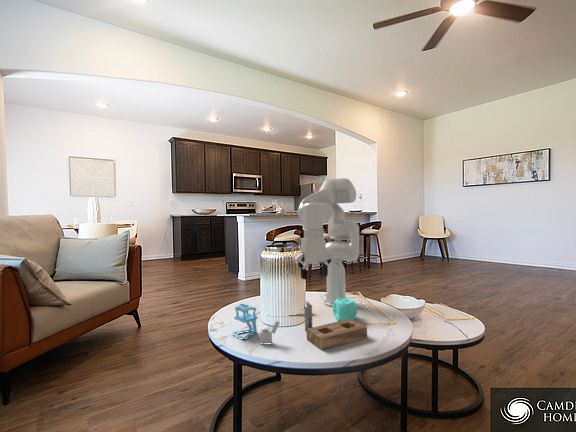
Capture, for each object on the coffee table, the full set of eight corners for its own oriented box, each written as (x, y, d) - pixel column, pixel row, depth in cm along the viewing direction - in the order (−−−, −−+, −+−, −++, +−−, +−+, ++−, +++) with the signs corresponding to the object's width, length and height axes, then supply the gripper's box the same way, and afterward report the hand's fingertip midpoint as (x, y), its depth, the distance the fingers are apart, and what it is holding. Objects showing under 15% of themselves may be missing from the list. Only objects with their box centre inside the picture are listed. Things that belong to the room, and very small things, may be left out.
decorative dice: (339, 323, 126) (339, 304, 126) (332, 317, 134) (332, 299, 134) (357, 321, 128) (356, 302, 128) (349, 315, 136) (348, 297, 135)
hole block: (306, 339, 111) (306, 328, 111) (350, 328, 119) (349, 318, 119) (321, 350, 102) (321, 338, 102) (367, 337, 111) (366, 327, 111)
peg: (303, 329, 120) (302, 305, 120) (310, 328, 121) (309, 303, 121) (307, 332, 117) (306, 307, 117) (314, 330, 118) (313, 305, 118)
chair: (260, 334, 117) (260, 303, 117) (243, 340, 111) (242, 308, 111) (249, 329, 122) (248, 299, 122) (231, 335, 117) (231, 304, 117)
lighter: (260, 344, 108) (259, 322, 108) (260, 342, 109) (260, 320, 109) (279, 344, 107) (279, 322, 107) (280, 342, 109) (279, 320, 109)
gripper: (325, 232, 125) (326, 273, 125) (289, 234, 117) (290, 278, 117) (336, 233, 119) (338, 276, 119) (299, 235, 111) (300, 281, 111)
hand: (314, 277), depth 118 cm, fingers open, 9 cm apart
